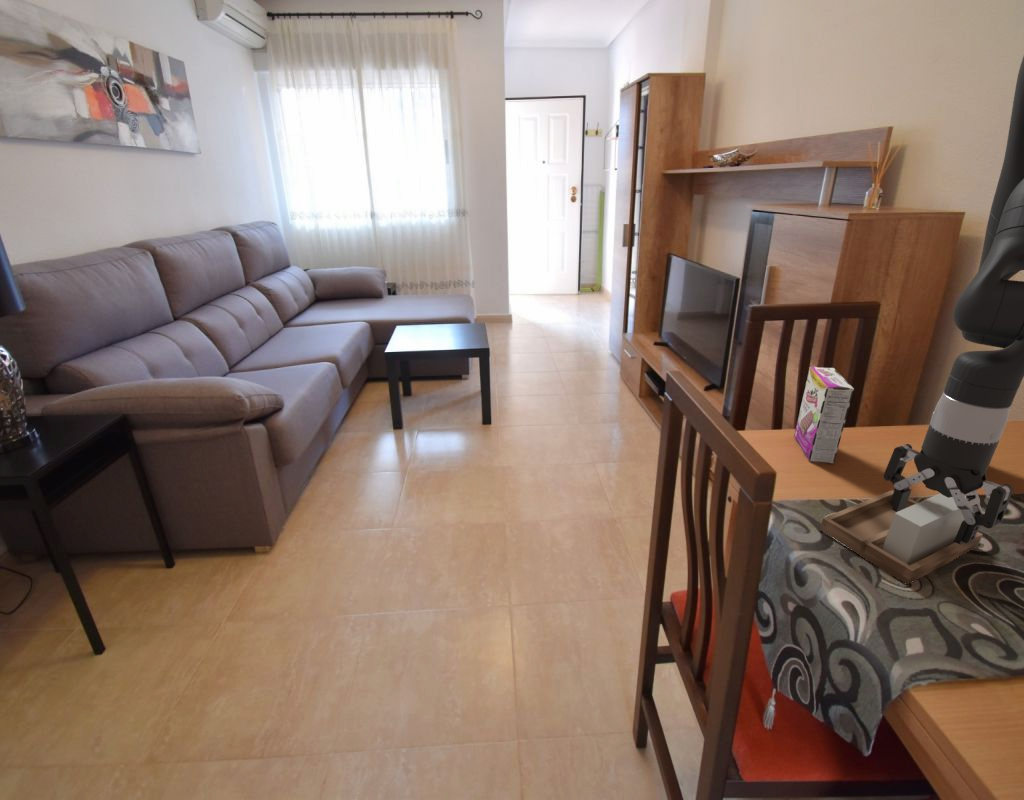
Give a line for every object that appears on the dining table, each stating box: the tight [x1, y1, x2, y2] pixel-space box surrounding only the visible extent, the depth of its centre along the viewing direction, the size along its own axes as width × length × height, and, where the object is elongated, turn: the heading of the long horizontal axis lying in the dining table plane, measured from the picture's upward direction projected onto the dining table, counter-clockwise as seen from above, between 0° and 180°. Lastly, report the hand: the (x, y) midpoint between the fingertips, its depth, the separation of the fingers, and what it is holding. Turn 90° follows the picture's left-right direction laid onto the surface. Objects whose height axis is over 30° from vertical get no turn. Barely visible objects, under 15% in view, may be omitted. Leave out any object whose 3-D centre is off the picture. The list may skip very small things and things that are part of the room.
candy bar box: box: [793, 366, 855, 465], centre depth 106 cm, size 11×5×16 cm, turn 168°
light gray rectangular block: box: [882, 492, 966, 565], centre depth 79 cm, size 14×4×7 cm, turn 116°
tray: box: [819, 489, 983, 585], centre depth 82 cm, size 18×13×2 cm
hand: (927, 525), depth 78 cm, fingers open, 8 cm apart
